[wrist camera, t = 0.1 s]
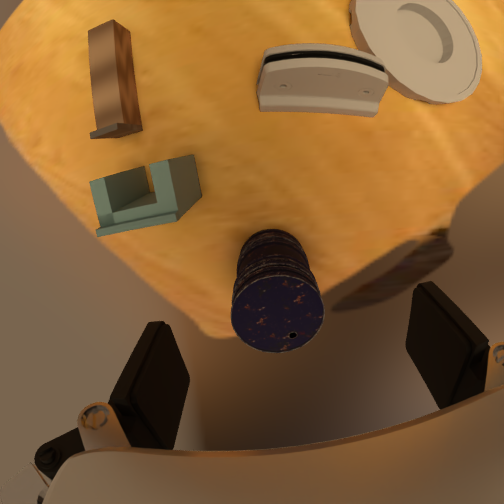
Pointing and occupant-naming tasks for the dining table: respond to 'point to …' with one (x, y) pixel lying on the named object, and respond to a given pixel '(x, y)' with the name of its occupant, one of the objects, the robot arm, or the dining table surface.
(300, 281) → the storage jar
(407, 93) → the ashtray
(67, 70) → the dining table surface
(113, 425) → the robot arm
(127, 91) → the brown wooden block
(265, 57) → the grey layered block
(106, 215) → the u-shaped channel piece
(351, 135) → the dining table surface
